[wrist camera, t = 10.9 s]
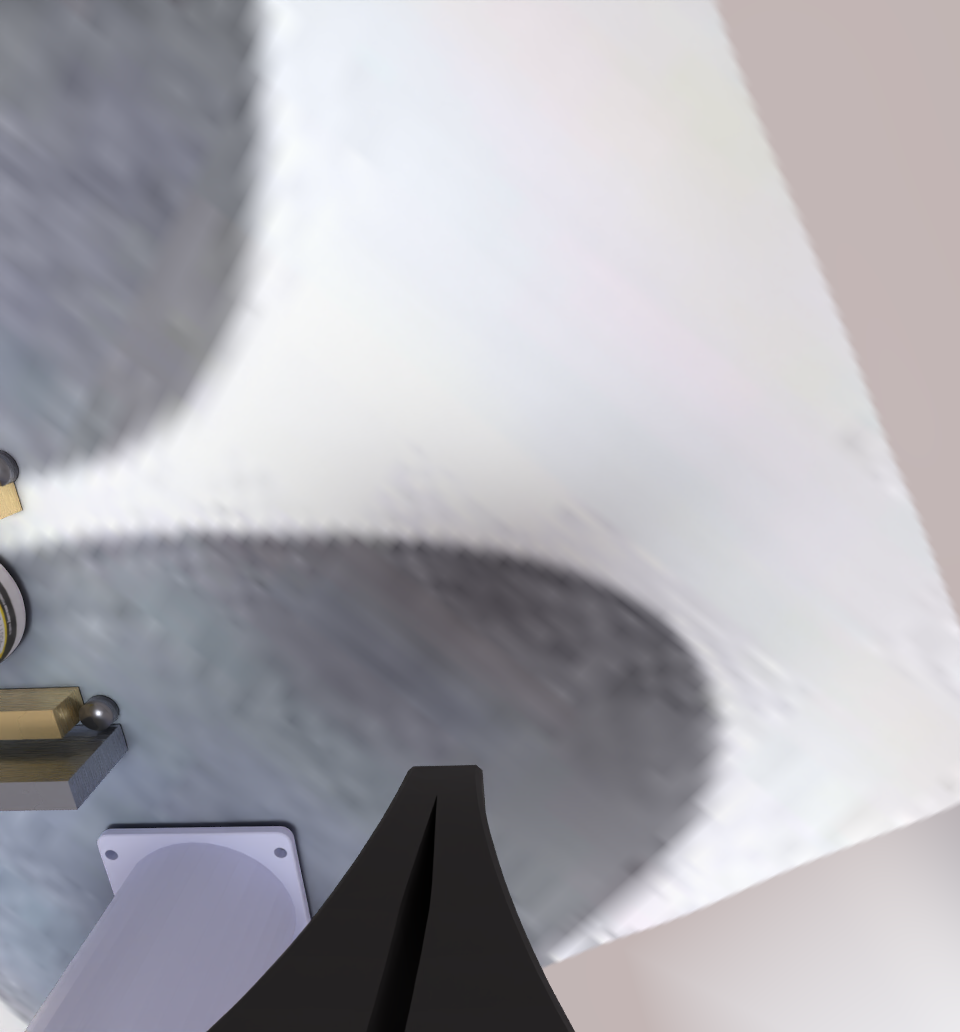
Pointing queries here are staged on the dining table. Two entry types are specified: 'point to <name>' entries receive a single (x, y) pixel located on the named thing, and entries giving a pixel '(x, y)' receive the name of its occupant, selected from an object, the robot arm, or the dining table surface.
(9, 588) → the supplement bottle
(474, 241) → the dining table surface
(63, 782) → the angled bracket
